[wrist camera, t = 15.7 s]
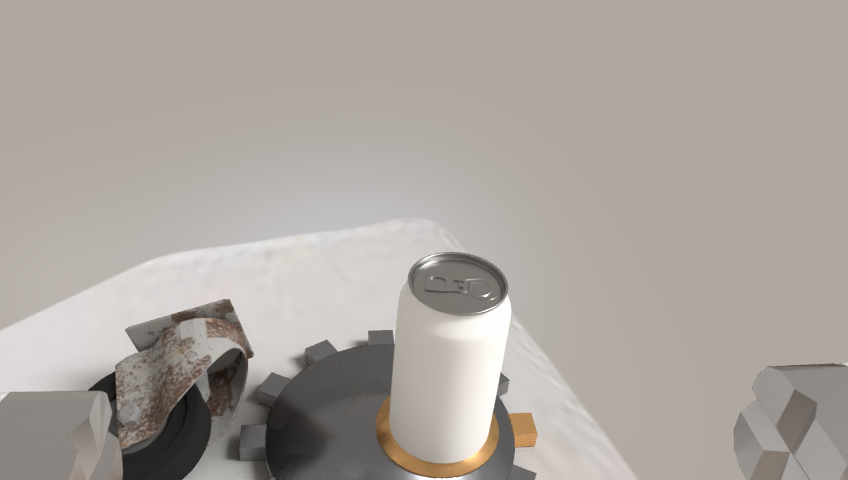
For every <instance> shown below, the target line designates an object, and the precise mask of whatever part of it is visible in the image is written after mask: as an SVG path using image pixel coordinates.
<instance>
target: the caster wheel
mask: <svg viewBox="0 0 848 480" xmlns="http://www.w3.org/2000/svg"><path fill="white" fill-rule="evenodd" d="M125 331H126V333H127V334H128V336H129V337H130V339H131V341H132V342H133V344H134V345H135V347H136V349H137V350H138V353H135V354H133V355H131V356H129V357H127V358H125V359H124V360H122V361H121V362H119V363H118V364H117V365H116V366H115V372H113V373H111V374H110V375H108V376H106V377H105V378H103V379H102V380H100V381H98V382H97V383H96V384H95V385H94V386H93V387H91V388H90V389H89V390H88V391H102V392H105V393H107V396H108V400H109V403H110V407H111V410H112V416H111V420H110V423H109V427H108V432H110V433H111V434H113V435H114V436H115V437H117V438H118V439H119V443H120V448H121V452H122V465H123V477H122V480H182V479H183V478H184V477H186V476H187V475H188V474H189V473H190V472H191V471H192V470H193V468H194V467H195V466H196V464H197V463H198V462H199V460H200V458H201V456H202V455H203V453H204V451H205V450H206V447H208V446H209V445H211V444H212V443H213V442H215V441H216V440H217V439H218V438H220V437H221V436H222V435H223V433H224V432H225V431H226V430H227V428H228V427H229V425H230V424H231V422H232V420H233V418H234V416H235V414H236V412H237V410H238V407H239V405H240V402H241V399H242V395H243V392H244V388H245V384H246V378H247V372H248V359H249V358H252V357H253V355H254V353H253V351H252V349H251V346H250V344H249V342H248V340H247V337H246V335H245V333H244V331H243V328H242V326H241V324H240V322H239V319H238V317H237V315H236V313H235V310H234V308H233V306H232V304H231V301H230V299H223V300H219V301H216V302H213V303H209V304H206V305H202V306H199V307H195V308H192V309H189V310H185V311H182V312H178V313H175V314H171V315H168V316H165V317H161V318H158V319H154V320H151V321H147V322H144V323H141V324H137V325H134V326H130V327H128V328H127V329H125Z"/></svg>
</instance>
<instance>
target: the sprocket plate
mask: <svg viewBox="0 0 848 480" xmlns="http://www.w3.org/2000/svg"><path fill="white" fill-rule="evenodd" d="M394 348H395V345H394V339H393V331H392V330H381V331H368V345H367V346H361V347H355V348H351V349H347V350H344V351H340V352H338V351H337V350H336V349H335V348H334V347H333V346H332V345H331V344H330V342H329V341H328V340H325V341H322V342H320V343H318V344H315V345H313V346H311V347H308V348H306V349H305V360H306V362H307V363H308V364H309V367H307V368H305V369H304V370H303V371H301V372H300V373H299V374H298V375H297V376H295V377H294V378H293V379H292V380H291V379H288V378H285V377H283V376H280V375H278V374H275V373H271V374H270V375H269V376H268V378H267V379H266V380H265V381H264V382H263V384H262V385H261V386H260V387H259V388H258V389H257V391H258V402H260V403H262V404H265V405H267V406H270V407H272V408H271V410H270V414H269V417H268V420H267V423H266V425H243V426H241V434H240V444H239V452H240V461H247V460H266V465H267V470H268V475H269V478H270V479H269V480H535V478H536V474H537V473H534V472H532V471H529V470H526V469H524V468H521V467H518V466H516V465H513V460H514V453H515V447H524V446H535V442H536V438H537V431H536V428H535V424H534V421H533V418H532V415H531V413H516V414H508V412H507V410H506V408H505V406H504V404H503V402H502V401H501V399H500V398H499V396H501V395H503V394H504V393H506V392H507V390H508V384H509V379H508V378H507V377H505V376H504V375H503V374H502V373H500V378H499V383H498V388H497V394H496V399H495V404H494V409H493V414H492V419H491V424H490V429H489V434H488V437H487V440H486V442H485V444H484V445H483V446H482V448H481V449H480V450H479V451H478V452H477V453H476V454H474V455H473V456H471V457H469V458H467V459H465V460H463V461H459V462H455V463H450V464H435V463H429V462H425V461H422V460H420V459H418V458H416V457H414V456H412V455H410V454H409V453H407V452H406V451H405V450H403V449H402V448H401V447H400V446H399V445H398V443H397V442H396V441H395V439H394V437H393V436H392V433H391V430H390V425H389V414H390V399H391V386H392V373H393V360H394Z"/></svg>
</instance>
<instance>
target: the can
mask: <svg viewBox="0 0 848 480" xmlns="http://www.w3.org/2000/svg"><path fill="white" fill-rule="evenodd" d="M507 293H508V283H507V280H506V278H505V276H504V274H503V273H502V272H501V271H500V270H499V269H498V268H497V267H496V266H495V265H493V264H492V263H490V262H489V261H487V260H485V259H483V258H480V257H477V256H474V255H471V254H466V253H459V252H443V253H437V254H433V255H429V256H427V257H424V258H422V259H421V260H419V261H418V262H417V263H415V264H414V265H413V267H412V268H411V270H410V272H409V274H408V281H407V282H406V284H405V285H404V287H403V289H402V291H401V293H400V297H399V303H398V313H397V324H396V336H395V348H394V360H393V373H392V386H391V399H390V414H389V425H390V430H391V433H392V436H393V437H394V439H395V441H396V442H397V443H398V445H399V446H400V447H401V448H402V449H403V450H405V451H406V452H407V453H409V454H410V455H412V456H414V457H416V458H418V459H420V460H422V461H425V462H429V463H435V464H450V463H455V462H459V461H463V460H465V459H467V458H469V457H471V456H473V455H474V454H476V453H477V452H478V451H479V450H480V449H481V448H482V446H483V445H484V444H485V442H486V440H487V437H488V434H489V429H490V424H491V419H492V414H493V409H494V404H495V399H496V394H497V388H498V383H499V378H500V373H501V367H502V362H503V357H504V351H505V346H506V341H507V335H508V329H509V324H510V317H511V305H510V300H509V298H508V295H507Z"/></svg>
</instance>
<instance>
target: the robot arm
mask: <svg viewBox="0 0 848 480" xmlns="http://www.w3.org/2000/svg"><path fill="white" fill-rule="evenodd" d="M752 390H753V392H754V394H755V396H756V398H757V399H756V400H755V401H754V402H752V403H751V404H750V405H749V406H747V407H746V408H745V409H743V410H742V411H741V413H740V415H739V417H738V420H737V422H736V425H735V428H734V451H735V454H736V457H737V460H738V464H739V466H740V468H741V470H742V472H743V474H744V476H745V478H746V480H848V363H840V364H834V363H832V364H810V365H789V366H768V367H766V368H765V369H764V370H762V371H761V372H760V373H759V374H758V375H757V378H756V379H755V382H754V384H753V386H752ZM111 416H112V410H111V407H110V403H109V400H108V396H107V393H105V392H102V391H53V392H10V393H0V480H122V477H123V465H122V452H121V448H120V443H119V439H118V438H117V437H115V436H114V435H113V434H111V433H110V432H108V427H109V423H110V420H111Z"/></svg>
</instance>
